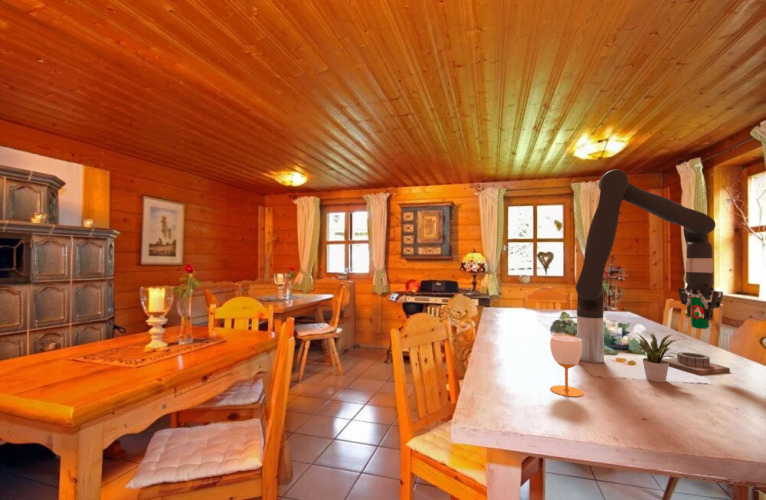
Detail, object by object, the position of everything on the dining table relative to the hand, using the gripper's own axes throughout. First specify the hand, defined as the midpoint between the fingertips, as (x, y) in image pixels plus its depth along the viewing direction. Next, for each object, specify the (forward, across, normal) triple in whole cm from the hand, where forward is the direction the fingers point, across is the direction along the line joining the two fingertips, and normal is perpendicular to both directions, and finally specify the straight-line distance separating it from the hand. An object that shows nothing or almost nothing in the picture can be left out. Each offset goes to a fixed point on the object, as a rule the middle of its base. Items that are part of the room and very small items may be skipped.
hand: (699, 318), depth 128 cm
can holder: (+19, -5, +3) cm, 20 cm away
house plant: (+19, +5, -22) cm, 30 cm away
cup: (+20, +9, -60) cm, 64 cm away
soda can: (+4, 0, 0) cm, 4 cm away
